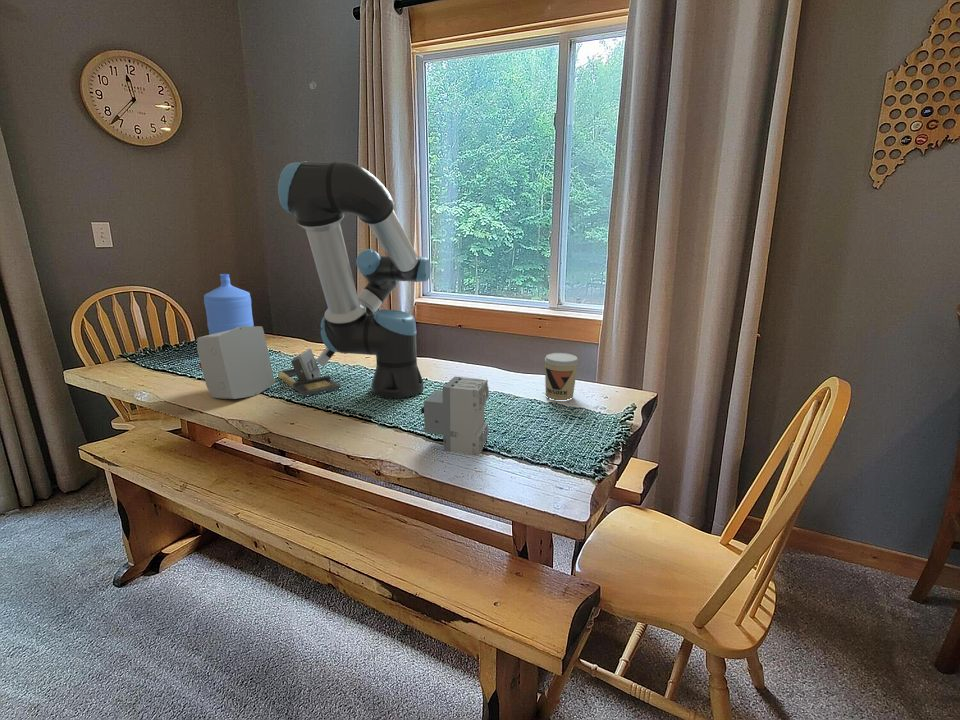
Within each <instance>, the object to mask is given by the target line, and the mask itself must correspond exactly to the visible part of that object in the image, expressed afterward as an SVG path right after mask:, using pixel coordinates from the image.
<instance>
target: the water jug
mask: <svg viewBox="0 0 960 720" xmlns="http://www.w3.org/2000/svg"><path fill="white" fill-rule="evenodd" d="M219 276H220V279H219V280H220V285H219V286H218V287H216V288H214V289H212V290H211V291H209V292H207V293H205V294H204V295H203V303H204V308H205V313H206V320H207V329H208V333H209V334H208V335H211V334H215V333H220V332H224V331H228V330H233V329H235V328H237V327H243V326H255V325H254V318H253V317H254V316H253V310H252V309H253V308H252V297H251V293H250V291H246V290H244V289H241V288H238V287H237V286H234V285H232V284H231V278H230V274H229V273H221V274H219Z"/></svg>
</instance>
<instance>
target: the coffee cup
mask: <svg viewBox="0 0 960 720" xmlns="http://www.w3.org/2000/svg"><path fill="white" fill-rule="evenodd" d="M578 363H579V359H578V357H577V356H576V355H574V354H571V353H565V352H552V353H548V354H546V356H545V357H544V366H545V367H544V371H545V373H544V374H545V377H544V378H545V380H544V381H545V397H546V396H547V397H548V398H551V399H554V400H567V399H570V398H572V397H573V398H574V394H575V393H574V392H575V385H576V377H577V373H578V372H577V370H578ZM547 397H546V398H547ZM548 398H547V399H548ZM573 398H572V399H573Z"/></svg>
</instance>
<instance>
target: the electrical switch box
mask: <svg viewBox="0 0 960 720" xmlns="http://www.w3.org/2000/svg"><path fill="white" fill-rule="evenodd" d="M196 346H197V348H196V349H197V350H196V351H197V353H198V354H197V355H198V360H199V361H200V363H199V369H201V370H202V373H203V374H202V375H203V379H204V382H205V386H206V389H207V390H208V393H209V395H210V396H211V398H212V399H229V400H236V399H243V398H244V399H245V398H250V397H255V396H258V395H259V394H261V393H262V392H264V391H266V390H268V389H269V388H270V387H272V386H274V385H275V383H276V380H275V376H274V373H273V368H272V363H271V358H270V354H269V349H268V345H267V340H266V335H265V331H264V327H263V326H262V325H261V326H259V325H258V326H257V325H256V326H255V325H254V326H243V327H237V328H235V329H233V330H228V331H224V332H220V333H215V334H211V335H209V334H208V335H204V336H199V337H197V339H196Z"/></svg>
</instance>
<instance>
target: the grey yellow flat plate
mask: <svg viewBox="0 0 960 720" xmlns="http://www.w3.org/2000/svg"><path fill="white" fill-rule="evenodd" d="M300 373H301V371H300ZM277 375H278V378H279V379H280V380H281V379H282V380H281V381H282V382H284V383H285V382H286V383H285V384H287V385H288V386H289V385H290V386H291V387H290V386H289V387H290V388H292V389H293V388H294V389H295V390H294V389H293V390H294V391H296V392H297V391H298V392H299V393H300V395H301V394H302V395H303V396H306V397H308V396H307V395H311V396H313V395H312V394H316V393H320V392H324V391H329V392H331V391H330V390H334V391H336V390H335V389H339V388H342V387H341V384H339V383H338V382H336V381H335V380H333V379H332V378H331V376H330V375H325V376H324V375H323V376H320V377H318V378H313V379H308V380H303V381H299V380H298V381H296V380H294V379H293V378H292V376H291V375H294V376H297V375H296V372H295V370H294V368H288V369H283V370H279V371H277ZM339 390H340V389H339ZM298 392H297V393H298ZM299 393H298V394H299ZM320 394H321V393H320ZM302 395H301V396H302ZM316 395H317V394H316ZM303 396H302V397H303Z"/></svg>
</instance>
